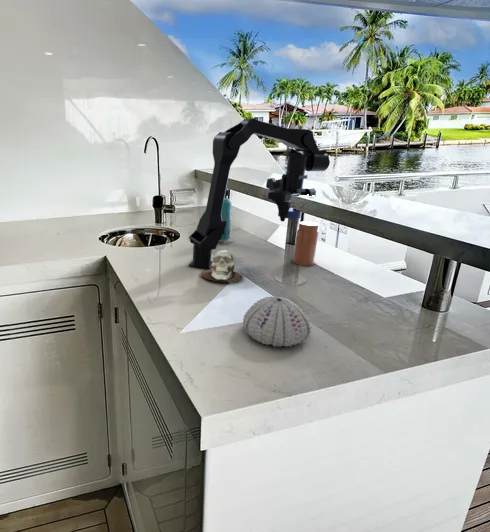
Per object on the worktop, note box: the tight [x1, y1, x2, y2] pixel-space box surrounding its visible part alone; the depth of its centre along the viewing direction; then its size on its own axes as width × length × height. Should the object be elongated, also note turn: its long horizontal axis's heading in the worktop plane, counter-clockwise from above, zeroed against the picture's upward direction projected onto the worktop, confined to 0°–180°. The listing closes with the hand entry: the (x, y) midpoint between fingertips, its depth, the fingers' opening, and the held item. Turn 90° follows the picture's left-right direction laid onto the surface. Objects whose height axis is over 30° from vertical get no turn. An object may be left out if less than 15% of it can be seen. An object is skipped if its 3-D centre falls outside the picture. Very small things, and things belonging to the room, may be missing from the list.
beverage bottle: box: [220, 188, 233, 241], centre depth 142 cm, size 6×7×20 cm
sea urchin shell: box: [242, 296, 312, 348], centre depth 77 cm, size 13×14×8 cm
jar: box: [292, 221, 320, 267], centre depth 122 cm, size 6×6×13 cm
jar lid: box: [277, 207, 302, 220], centre depth 124 cm, size 7×7×2 cm
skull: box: [200, 249, 244, 283], centre depth 109 cm, size 12×10×10 cm
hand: (288, 220), depth 125 cm, fingers closed on jar lid, 7 cm apart
